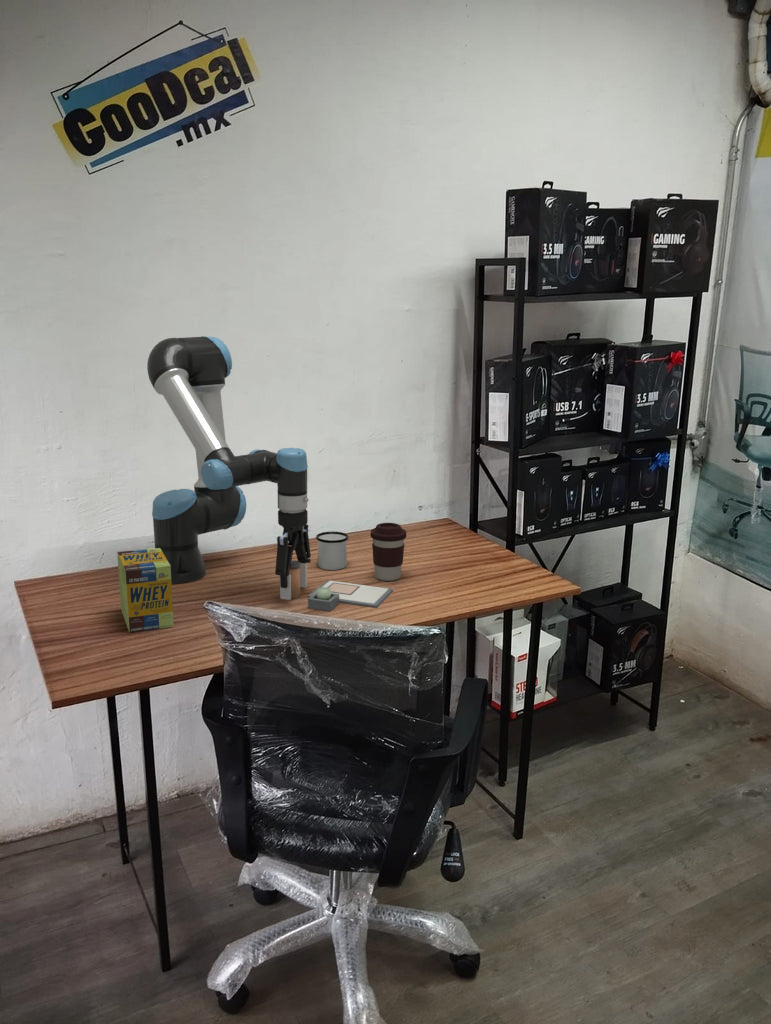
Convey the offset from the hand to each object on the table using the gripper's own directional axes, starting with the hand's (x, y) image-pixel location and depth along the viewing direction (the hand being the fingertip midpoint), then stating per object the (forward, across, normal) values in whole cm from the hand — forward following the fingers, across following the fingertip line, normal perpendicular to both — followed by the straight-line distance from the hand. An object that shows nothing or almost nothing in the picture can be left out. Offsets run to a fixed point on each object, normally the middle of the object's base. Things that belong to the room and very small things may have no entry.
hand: (293, 592), depth 221 cm
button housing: (+1, -4, -10) cm, 11 cm away
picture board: (+1, +6, -14) cm, 15 cm away
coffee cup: (+1, +23, -18) cm, 29 cm away
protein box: (+1, -27, +26) cm, 38 cm away
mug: (+1, +27, +1) cm, 27 cm away
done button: (0, -4, -10) cm, 11 cm away
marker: (+1, 0, 0) cm, 1 cm away
